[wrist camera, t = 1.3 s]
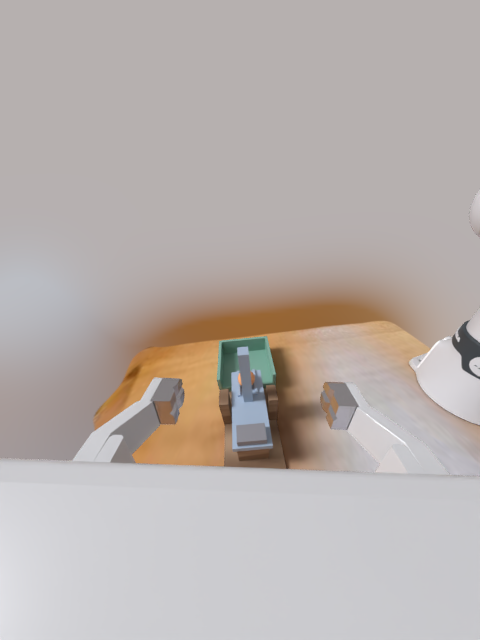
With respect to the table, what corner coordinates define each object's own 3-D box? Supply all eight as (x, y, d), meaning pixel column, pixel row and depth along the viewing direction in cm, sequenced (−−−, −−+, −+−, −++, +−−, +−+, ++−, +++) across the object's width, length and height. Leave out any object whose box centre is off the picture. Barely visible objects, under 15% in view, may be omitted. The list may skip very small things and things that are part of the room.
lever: (273, 448, 29) (275, 400, 21) (232, 451, 29) (219, 405, 21) (260, 372, 40) (259, 323, 32) (231, 375, 40) (222, 327, 33)
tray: (275, 388, 43) (276, 374, 40) (220, 393, 43) (217, 379, 40) (266, 349, 53) (266, 336, 50) (222, 354, 53) (219, 340, 50)
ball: (249, 374, 39) (248, 363, 37) (258, 385, 37) (257, 375, 35) (235, 381, 38) (234, 370, 36) (243, 393, 36) (242, 383, 34)
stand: (287, 475, 30) (291, 457, 26) (224, 480, 31) (216, 464, 26) (270, 389, 43) (271, 367, 39) (225, 393, 43) (220, 372, 39)
